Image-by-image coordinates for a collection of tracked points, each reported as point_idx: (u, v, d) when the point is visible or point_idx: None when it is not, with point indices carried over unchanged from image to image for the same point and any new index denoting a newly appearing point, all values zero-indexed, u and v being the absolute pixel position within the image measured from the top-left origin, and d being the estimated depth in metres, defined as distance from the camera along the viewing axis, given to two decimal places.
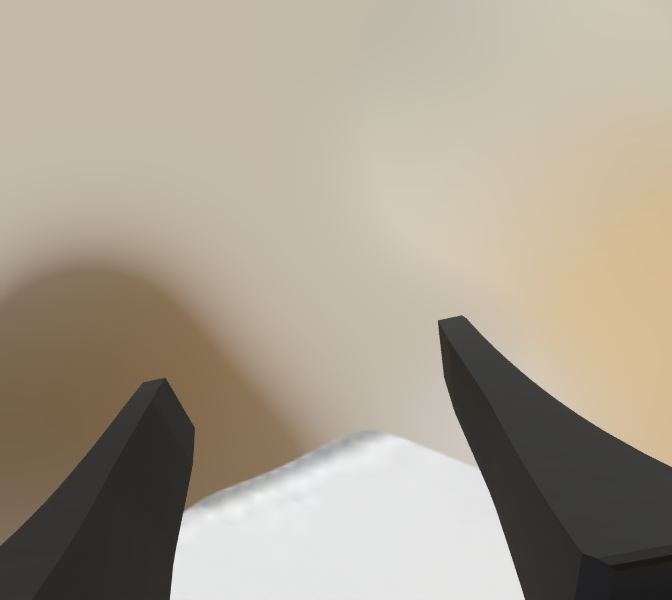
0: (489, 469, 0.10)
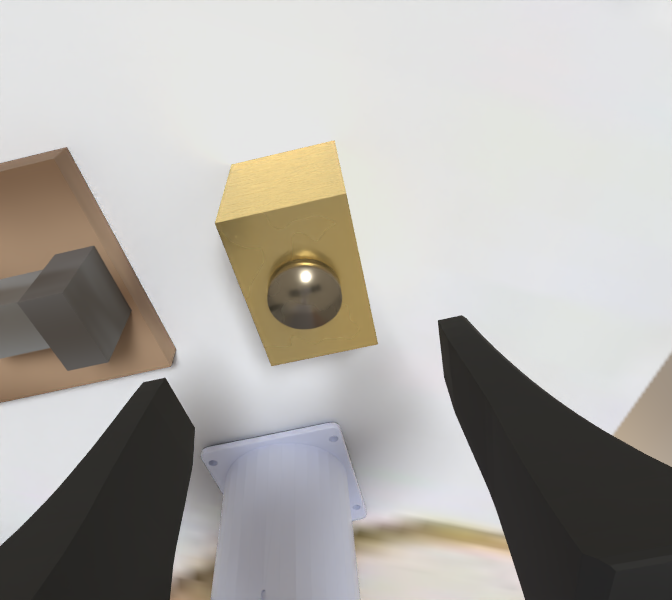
0: (489, 469, 0.10)
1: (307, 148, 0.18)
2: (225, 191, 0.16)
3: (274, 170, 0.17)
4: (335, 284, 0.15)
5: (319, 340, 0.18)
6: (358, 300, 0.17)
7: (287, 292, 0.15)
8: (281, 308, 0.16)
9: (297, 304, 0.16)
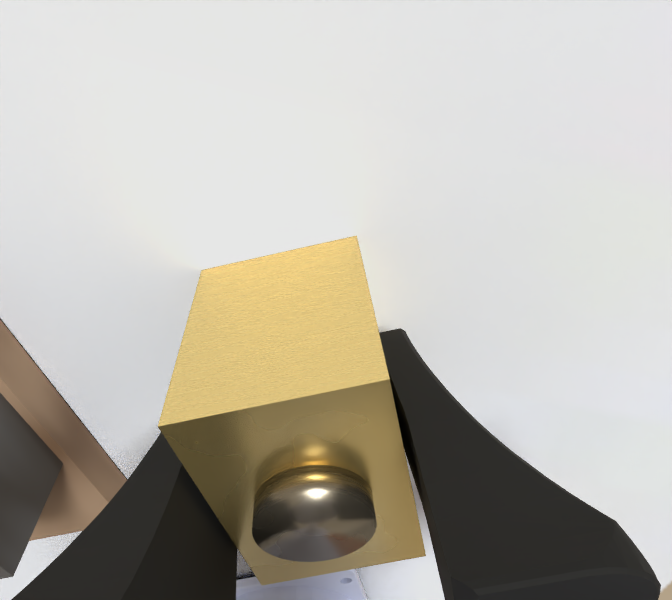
0: (418, 482, 0.10)
1: (315, 250, 0.12)
2: (185, 337, 0.10)
3: (264, 295, 0.11)
4: (366, 510, 0.09)
5: None
6: (400, 509, 0.10)
7: (284, 523, 0.09)
8: (276, 541, 0.10)
9: (302, 535, 0.10)
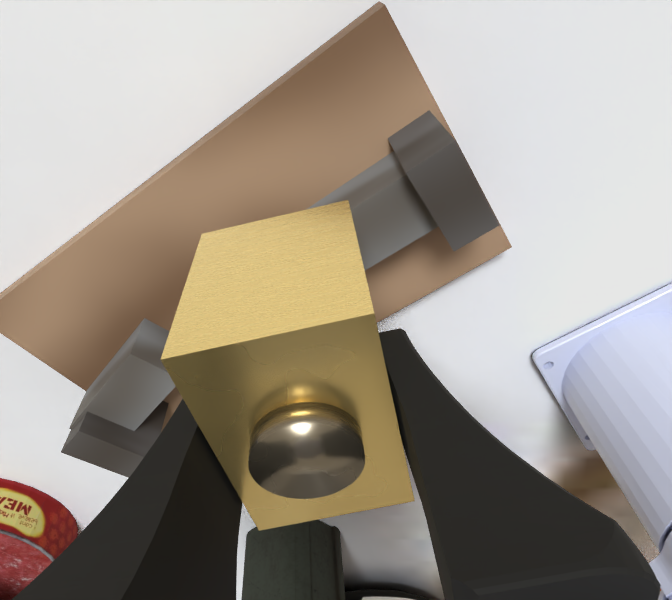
0: (418, 482, 0.10)
1: (309, 212, 0.13)
2: (186, 288, 0.11)
3: (261, 251, 0.11)
4: (355, 443, 0.10)
5: (328, 499, 0.12)
6: (389, 451, 0.11)
7: (278, 456, 0.10)
8: (271, 475, 0.10)
9: (295, 469, 0.10)
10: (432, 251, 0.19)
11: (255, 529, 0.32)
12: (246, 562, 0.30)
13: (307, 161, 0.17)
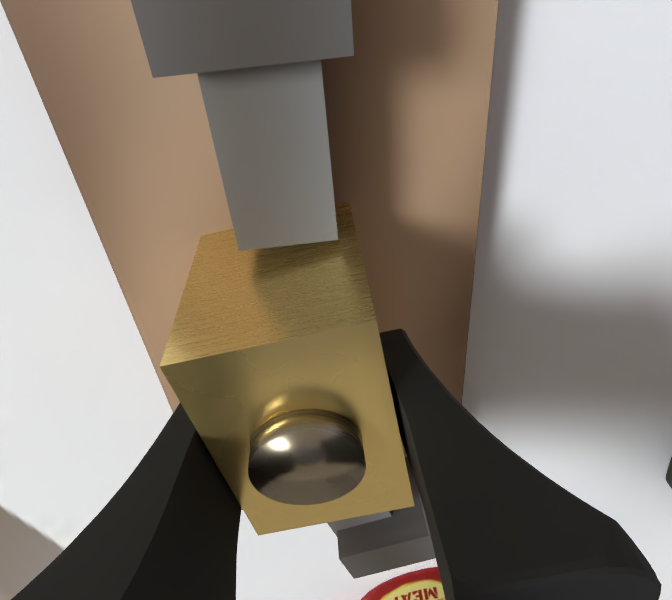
0: (418, 483, 0.10)
1: None
2: (185, 292, 0.11)
3: (261, 255, 0.11)
4: (356, 451, 0.10)
5: (328, 504, 0.12)
6: (389, 457, 0.11)
7: (279, 463, 0.10)
8: (271, 482, 0.10)
9: (295, 476, 0.10)
10: (416, 61, 0.11)
11: (669, 473, 0.23)
12: None
13: (179, 172, 0.12)
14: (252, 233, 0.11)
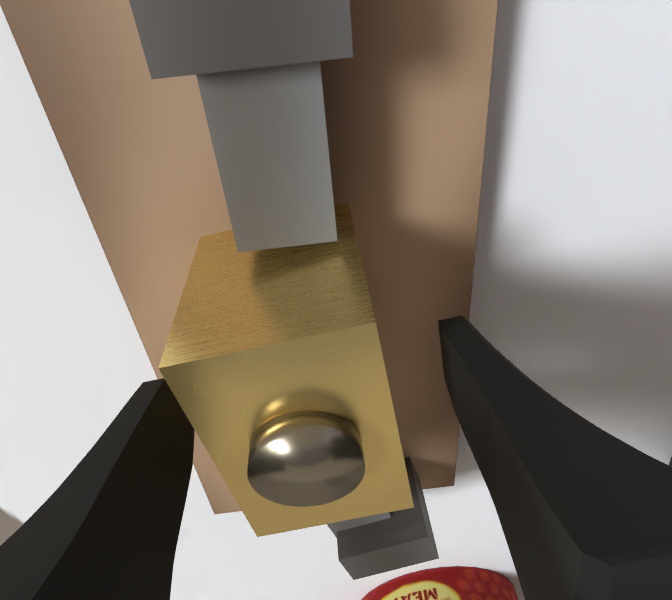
0: (489, 469, 0.10)
1: None
2: (184, 294, 0.11)
3: (260, 256, 0.11)
4: (355, 452, 0.10)
5: (328, 506, 0.12)
6: (389, 458, 0.11)
7: (278, 465, 0.10)
8: (270, 484, 0.10)
9: (295, 478, 0.10)
10: (415, 62, 0.11)
11: None
12: None
13: (178, 173, 0.12)
14: (251, 234, 0.11)
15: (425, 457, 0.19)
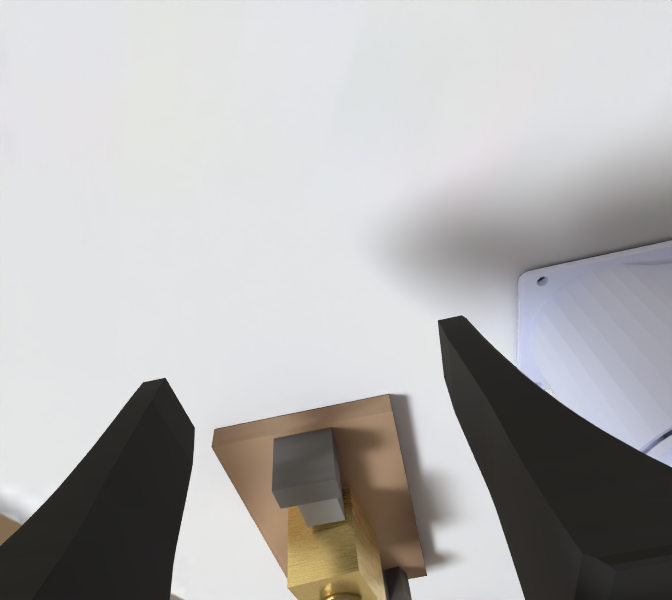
0: (489, 469, 0.10)
1: None
2: (288, 544, 0.28)
3: None
4: None
5: None
6: None
7: None
8: None
9: None
10: (368, 448, 0.28)
11: None
12: None
13: None
14: (312, 522, 0.28)
15: (407, 565, 0.36)
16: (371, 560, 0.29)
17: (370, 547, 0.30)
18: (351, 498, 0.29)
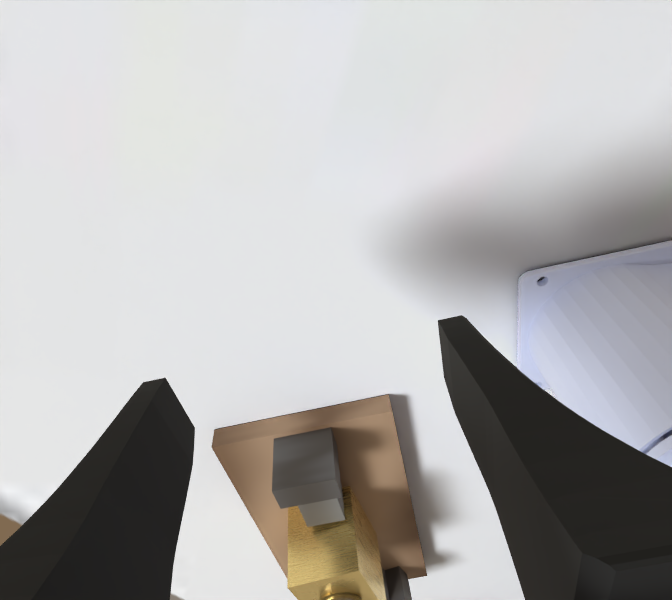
0: (489, 469, 0.10)
1: None
2: (288, 544, 0.28)
3: None
4: None
5: None
6: None
7: None
8: None
9: None
10: (368, 448, 0.28)
11: None
12: None
13: None
14: (312, 522, 0.28)
15: (407, 565, 0.36)
16: (371, 560, 0.29)
17: (370, 547, 0.30)
18: (351, 498, 0.29)
